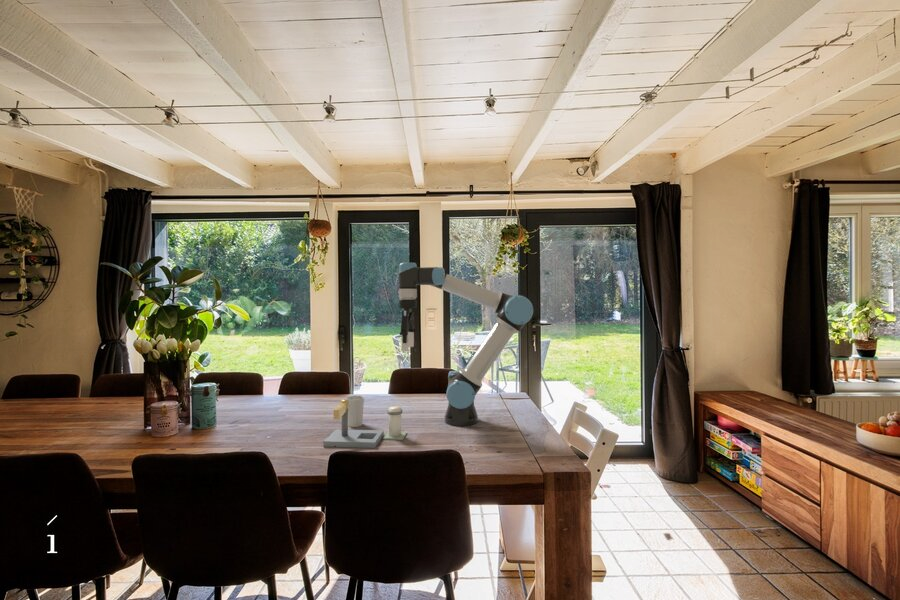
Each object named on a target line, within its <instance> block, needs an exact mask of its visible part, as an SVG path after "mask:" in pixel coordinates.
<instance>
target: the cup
mask: <svg viewBox="0 0 900 600" xmlns="http://www.w3.org/2000/svg"><path fill="white" fill-rule="evenodd" d="M345 399H348V400H349V410H348V427H351V428H352V427H353V428H357V427H361V426H362V425H363V418H364V405H365V404H364V403H365V397H364V396H363V395H351V396H347V397H345Z"/></svg>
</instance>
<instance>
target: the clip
mask: <svg viewBox="0 0 900 600" xmlns="http://www.w3.org/2000/svg"><path fill="white" fill-rule="evenodd" d="M348 410H349V400H348V399H346V398H345V399H344V398H343V399H340V402H339V404H338V405H337V406H336V407H335V408H334V409H333V420H340V419H342V416H343V414H344V413H345V412H346V411H348Z"/></svg>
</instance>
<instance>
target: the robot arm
mask: <svg viewBox="0 0 900 600" xmlns="http://www.w3.org/2000/svg"><path fill="white" fill-rule="evenodd" d="M398 267H399V268H398V291H397V293H398V298H399V299H398V308H399V309H403V310H402V311H401V324H400V325H401V326H400V332H399V336H401V352H408V351H409V350H410V348H414V346H415V333H416V331H417V330H416V329H415V318H414V309H416V308H417V306H418V303H417V302H418V301H417V298H418V293H417V292H418V288H417V286H431V287H434V288H437V289H439V290H443V291H445V292H446V293H450V294H453V295H456V296H458V297H460V298H462V299H466V300H468V301H471V302H473V303H476V304H478V305H481V306H484V307H486V308H488V309H492V311H493V312H494V313H495V314H497V315H496V317H495V319H496V322H495V324H494V325H493V326H492V328H491V330H490V331H489V333H488V334H487V335H486V336H485V339H484V340H483V341H482V343H481V344H480V345H479V347H478V349H477V350H476V352H475V353H474V354H473V356H472V357H471V359H470V360H469V362H468V363H467V365H466V366H465V367H464V368H461V369H460V368H459V370H450V371H449V372H448V376H447V379H448V384H447V388H446V390H445V392H446V393H445V394H446V399H447V401H448V405H447V408H446V411H445V415H444V423H446V424H448V425H451V426H456V427H457V426H458V427H466V426H473V425H475V424H477V423H478V422H479V417H478V412H477V410H476V407H475V398H476V396H477V394H478V393H479V392H480V389H481V388H482V387H483V383H482V380H483V379H484V377H485V376H486V375H487V373H488V372H489V370H490V369H491V367H492V366H493V364H494V363H495V361H496V360H497V358H498V357H499V356H500V354H501V352H502V351H503V350H504V348H505V347H506V345H507V344H508V342H509V341H510V340H511V338H512V337H513V336H514V334H518V333H520V332H521V330H522V329H523V328H524V326H525V325H526V324H527V323H528V322H530V320H531V319H532V317H533V314H534V306H533V303H532V302H531V301H530V299H528V298H527V297H525V296H524V295H519V294H517V295H511V294H507V293H504V292H500V293H498V292H495V291H493V290H491V289H488V288H485V287H482V286H480V285H477V284H474V283H472V282H469V281H467V280H464V279H461V278H459V277H456V276H453V275H451V274H448V273H445V268H444V267H438V266H432V267H431V266H429V267H420V266H419V267H418V266H417V263H416V262H407V261H406V262H401V263H399V266H398Z"/></svg>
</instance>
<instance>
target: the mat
mask: <svg viewBox="0 0 900 600" xmlns="http://www.w3.org/2000/svg"><path fill="white" fill-rule="evenodd" d="M406 435H407V431H401V436H399V437H390V436H389V430H388V431H386V433H385V434H384V436H383V437H382V440H386V441H389V440H393V441H404V439H405V437H406Z"/></svg>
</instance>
